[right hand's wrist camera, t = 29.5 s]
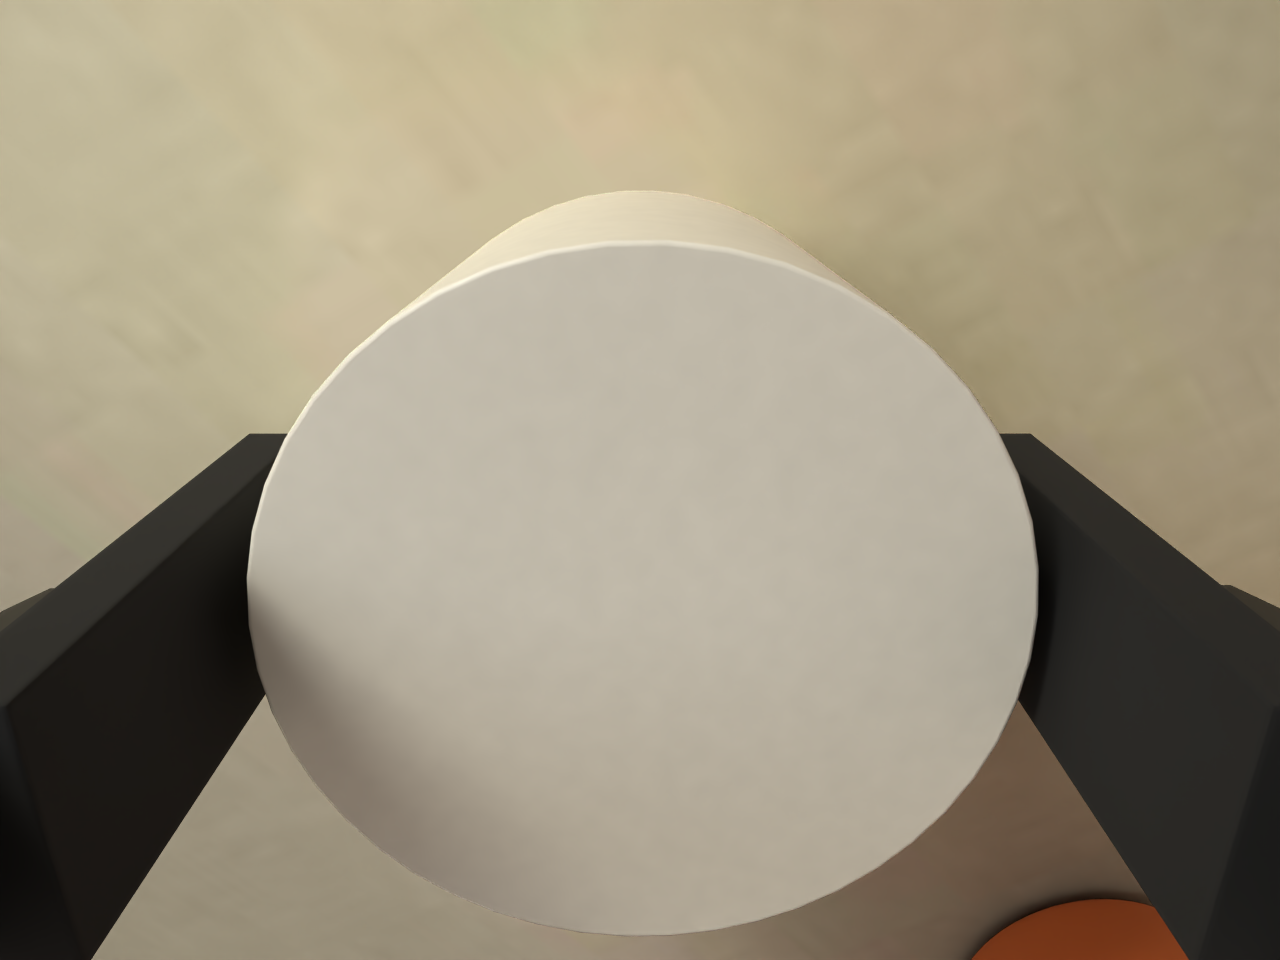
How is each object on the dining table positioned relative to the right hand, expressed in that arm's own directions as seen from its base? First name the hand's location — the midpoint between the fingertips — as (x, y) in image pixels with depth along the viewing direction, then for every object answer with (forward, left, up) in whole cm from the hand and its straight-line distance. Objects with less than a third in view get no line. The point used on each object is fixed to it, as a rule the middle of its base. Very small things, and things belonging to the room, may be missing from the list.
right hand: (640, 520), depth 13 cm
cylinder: (0, 0, -4) cm, 4 cm away
